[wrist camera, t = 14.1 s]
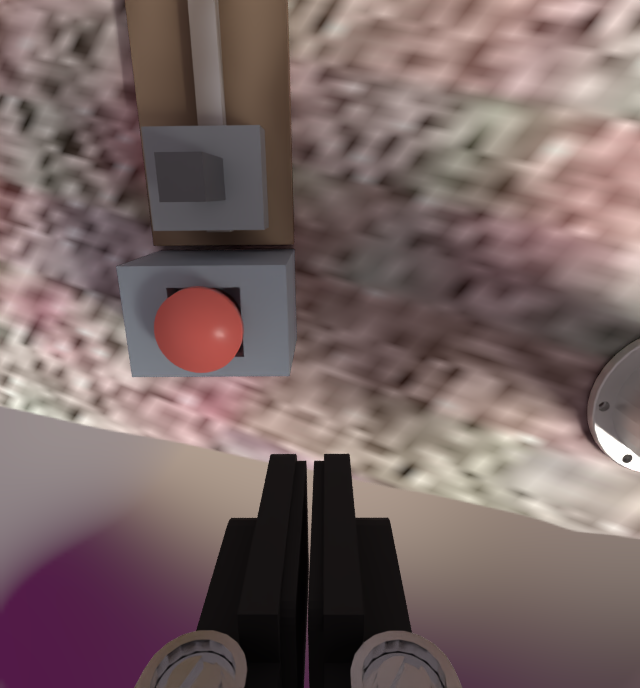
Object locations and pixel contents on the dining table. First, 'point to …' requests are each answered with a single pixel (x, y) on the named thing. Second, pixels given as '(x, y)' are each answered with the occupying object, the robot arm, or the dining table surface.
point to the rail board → (218, 90)
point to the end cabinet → (227, 275)
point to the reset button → (199, 329)
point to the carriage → (206, 177)
